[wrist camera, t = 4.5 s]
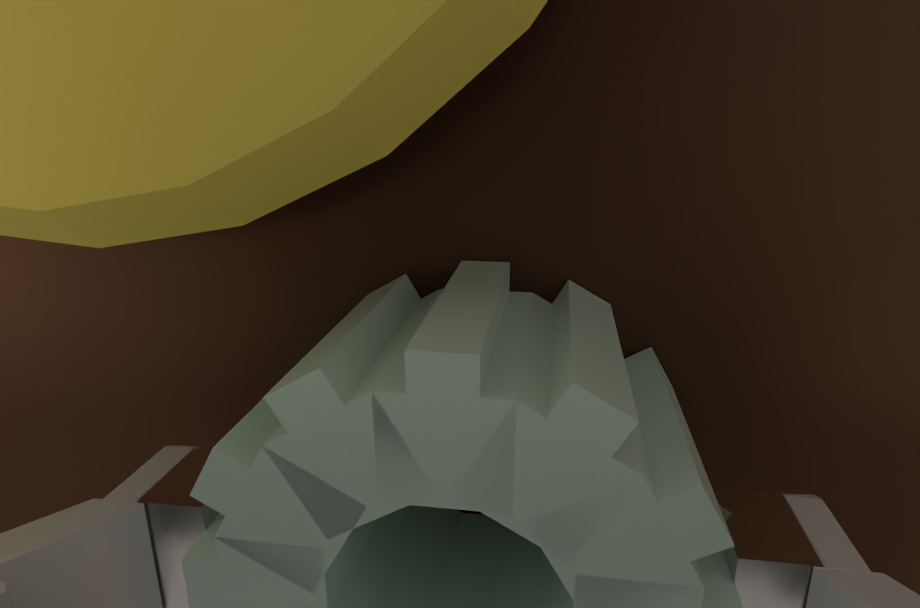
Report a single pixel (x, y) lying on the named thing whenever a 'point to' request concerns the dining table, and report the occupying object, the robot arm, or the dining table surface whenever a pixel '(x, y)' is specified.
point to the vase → (216, 104)
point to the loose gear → (463, 466)
